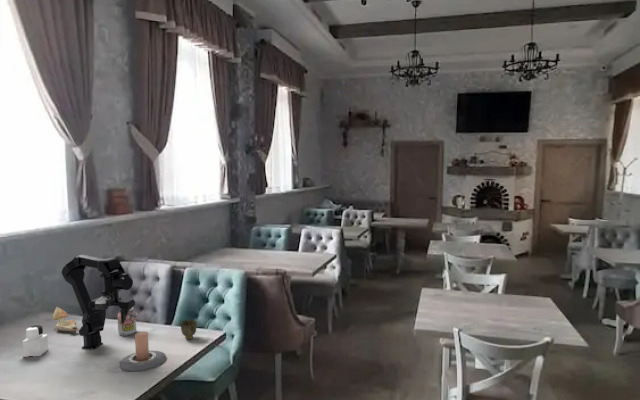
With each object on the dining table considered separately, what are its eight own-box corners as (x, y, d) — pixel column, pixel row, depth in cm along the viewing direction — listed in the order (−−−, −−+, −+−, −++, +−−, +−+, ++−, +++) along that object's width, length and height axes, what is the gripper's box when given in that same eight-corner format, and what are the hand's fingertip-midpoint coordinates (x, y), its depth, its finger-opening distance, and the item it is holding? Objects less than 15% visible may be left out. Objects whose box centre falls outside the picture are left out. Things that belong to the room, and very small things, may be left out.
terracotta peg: (135, 363, 181) (134, 337, 180) (136, 358, 185) (135, 332, 184) (149, 361, 182) (147, 335, 181) (149, 356, 187) (147, 330, 186)
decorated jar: (137, 328, 222) (136, 304, 221) (140, 333, 215) (139, 309, 214) (117, 332, 217) (116, 308, 217) (119, 337, 210) (118, 313, 209)
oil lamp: (67, 323, 232) (65, 304, 231) (85, 332, 219) (84, 312, 218) (48, 328, 225) (47, 309, 225) (66, 337, 212) (65, 317, 211)
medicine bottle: (32, 350, 198) (30, 324, 197) (48, 349, 198) (47, 323, 197) (22, 357, 191) (20, 330, 190) (40, 356, 191) (38, 329, 190)
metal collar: (123, 364, 180) (123, 361, 179) (138, 353, 190) (138, 350, 190) (147, 366, 178) (147, 363, 178) (161, 354, 188) (161, 352, 188)
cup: (192, 342, 203) (191, 325, 203) (178, 341, 205) (177, 324, 204) (200, 335, 211) (199, 319, 210) (186, 335, 212) (185, 318, 211)
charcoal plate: (109, 370, 177) (109, 368, 177) (135, 351, 194) (135, 349, 194) (151, 372, 174) (150, 370, 173) (173, 353, 191) (173, 351, 191)
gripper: (78, 292, 186) (81, 328, 187) (119, 293, 183) (121, 330, 184) (96, 285, 197) (98, 319, 198) (135, 286, 194) (136, 321, 195)
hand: (113, 322), depth 193 cm, fingers open, 9 cm apart
